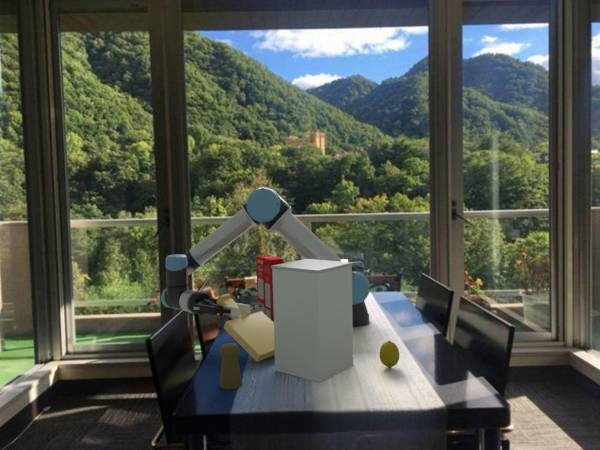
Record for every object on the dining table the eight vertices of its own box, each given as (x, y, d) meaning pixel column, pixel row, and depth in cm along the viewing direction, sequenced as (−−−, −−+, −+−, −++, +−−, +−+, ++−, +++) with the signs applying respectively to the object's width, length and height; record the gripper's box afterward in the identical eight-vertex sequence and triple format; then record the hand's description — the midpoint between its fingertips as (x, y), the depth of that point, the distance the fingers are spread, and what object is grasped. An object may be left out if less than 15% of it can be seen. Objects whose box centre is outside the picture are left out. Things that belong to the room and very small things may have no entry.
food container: (260, 339, 181) (259, 310, 180) (243, 338, 182) (242, 310, 181) (269, 329, 193) (268, 302, 192) (253, 329, 194) (252, 302, 193)
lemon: (400, 366, 151) (400, 338, 150) (397, 372, 146) (397, 344, 145) (381, 364, 153) (381, 337, 152) (377, 370, 147) (377, 342, 147)
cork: (220, 381, 142) (218, 341, 141) (242, 380, 143) (241, 340, 142) (218, 389, 136) (217, 348, 135) (242, 388, 137) (240, 347, 136)
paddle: (202, 306, 168) (205, 298, 166) (238, 297, 180) (241, 289, 179) (256, 361, 154) (260, 353, 153) (291, 348, 166) (295, 340, 165)
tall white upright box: (274, 370, 150) (271, 265, 147) (309, 355, 162) (307, 258, 160) (320, 382, 139) (318, 270, 137) (354, 365, 152) (352, 262, 150)
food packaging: (285, 324, 200) (283, 258, 198) (272, 326, 197) (270, 260, 196) (270, 316, 213) (268, 254, 211) (257, 317, 211) (256, 255, 209)
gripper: (214, 308, 189) (262, 316, 174) (176, 317, 175) (224, 328, 161) (214, 287, 188) (262, 294, 174) (175, 295, 175) (224, 304, 160)
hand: (244, 310), depth 167 cm, fingers closed on paddle, 4 cm apart
